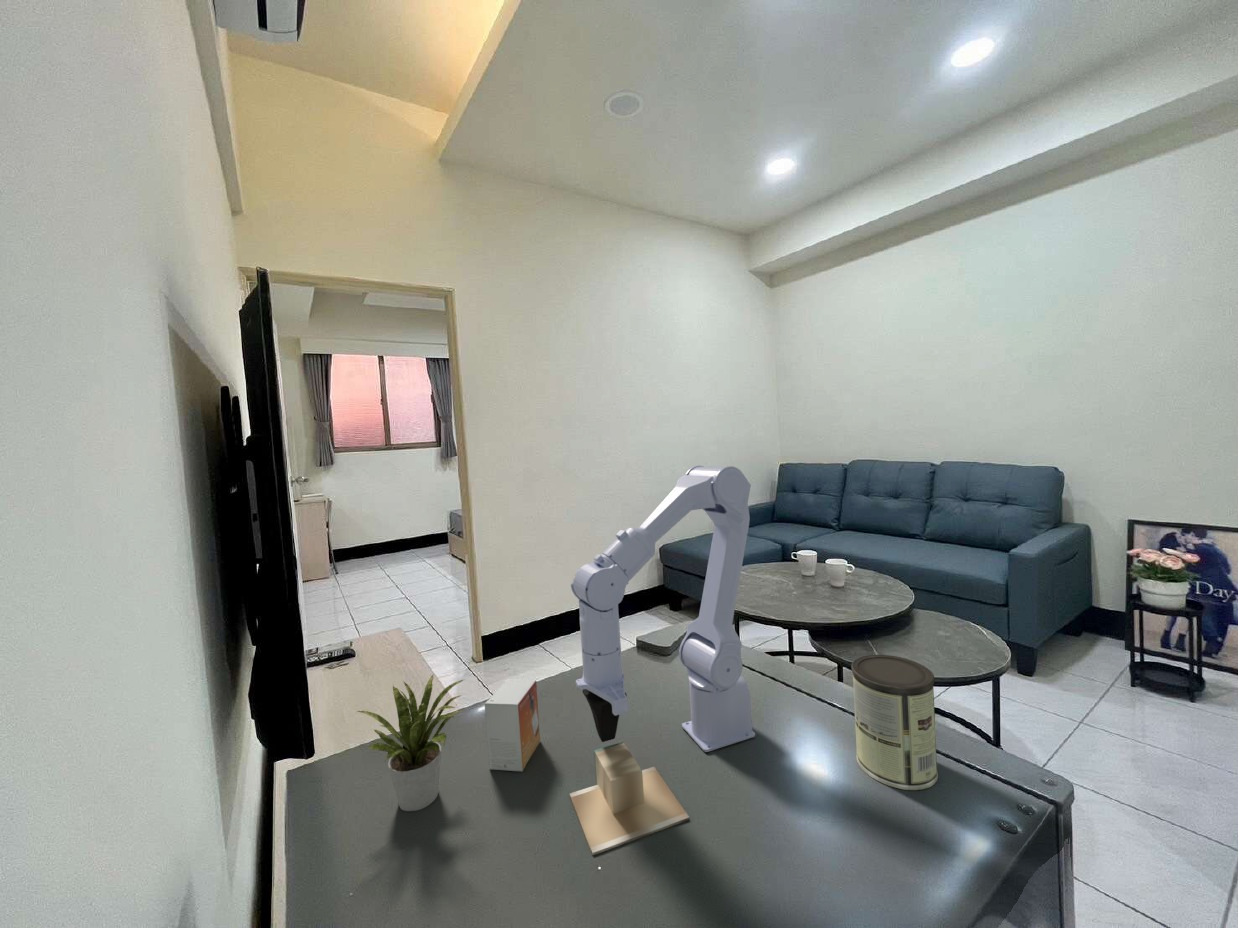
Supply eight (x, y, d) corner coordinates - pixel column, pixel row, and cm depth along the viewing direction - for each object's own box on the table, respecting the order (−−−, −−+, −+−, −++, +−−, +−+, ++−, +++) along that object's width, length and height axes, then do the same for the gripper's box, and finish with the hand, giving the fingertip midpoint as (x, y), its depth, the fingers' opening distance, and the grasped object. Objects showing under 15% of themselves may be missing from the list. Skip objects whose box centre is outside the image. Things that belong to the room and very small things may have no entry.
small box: (522, 773, 73) (517, 705, 73) (488, 770, 74) (483, 703, 74) (541, 740, 81) (537, 679, 81) (510, 738, 82) (505, 677, 82)
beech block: (623, 741, 71) (642, 770, 65) (624, 771, 72) (644, 803, 65) (594, 750, 70) (610, 780, 63) (596, 780, 70) (612, 814, 63)
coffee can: (867, 735, 77) (863, 648, 76) (944, 761, 70) (941, 665, 69) (845, 769, 70) (841, 673, 69) (929, 802, 62) (925, 696, 62)
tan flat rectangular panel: (654, 768, 72) (654, 766, 72) (689, 819, 62) (689, 817, 62) (569, 795, 68) (569, 793, 68) (592, 855, 58) (592, 852, 58)
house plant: (498, 772, 74) (490, 667, 73) (436, 846, 60) (426, 718, 60) (422, 758, 78) (414, 658, 78) (349, 823, 65) (339, 704, 64)
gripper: (562, 635, 76) (568, 719, 77) (589, 674, 63) (596, 776, 63) (604, 626, 79) (610, 708, 79) (639, 662, 65) (646, 760, 66)
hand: (607, 737), depth 71 cm, fingers closed
